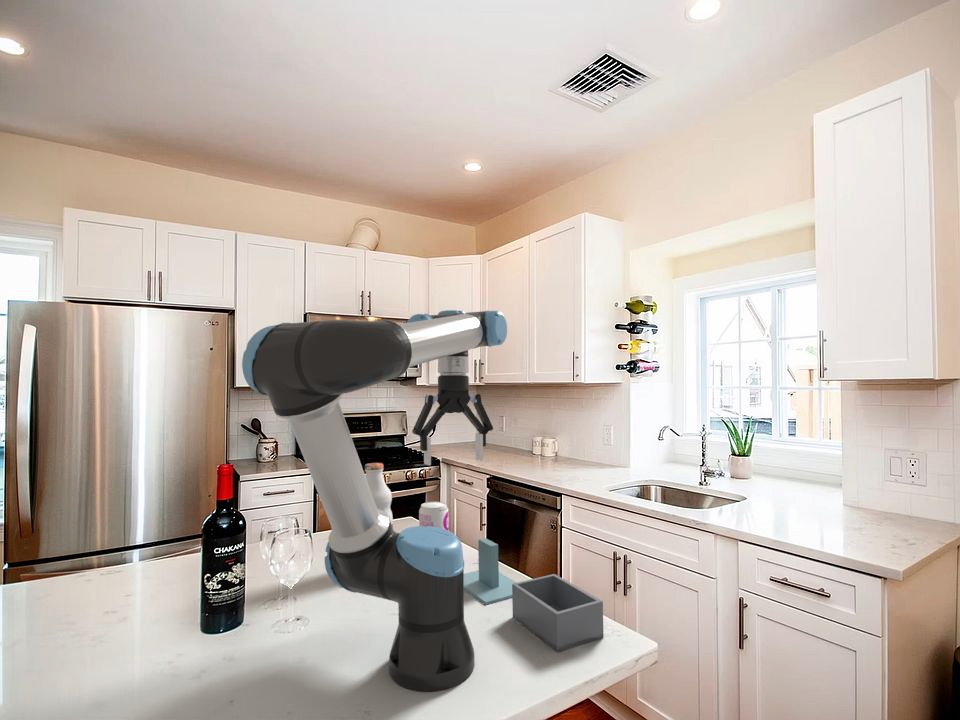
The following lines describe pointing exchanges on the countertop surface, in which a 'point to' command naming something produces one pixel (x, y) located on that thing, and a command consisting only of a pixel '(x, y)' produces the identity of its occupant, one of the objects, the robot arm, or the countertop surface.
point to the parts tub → (557, 611)
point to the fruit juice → (379, 488)
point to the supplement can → (434, 515)
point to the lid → (488, 576)
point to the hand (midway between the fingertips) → (453, 462)
